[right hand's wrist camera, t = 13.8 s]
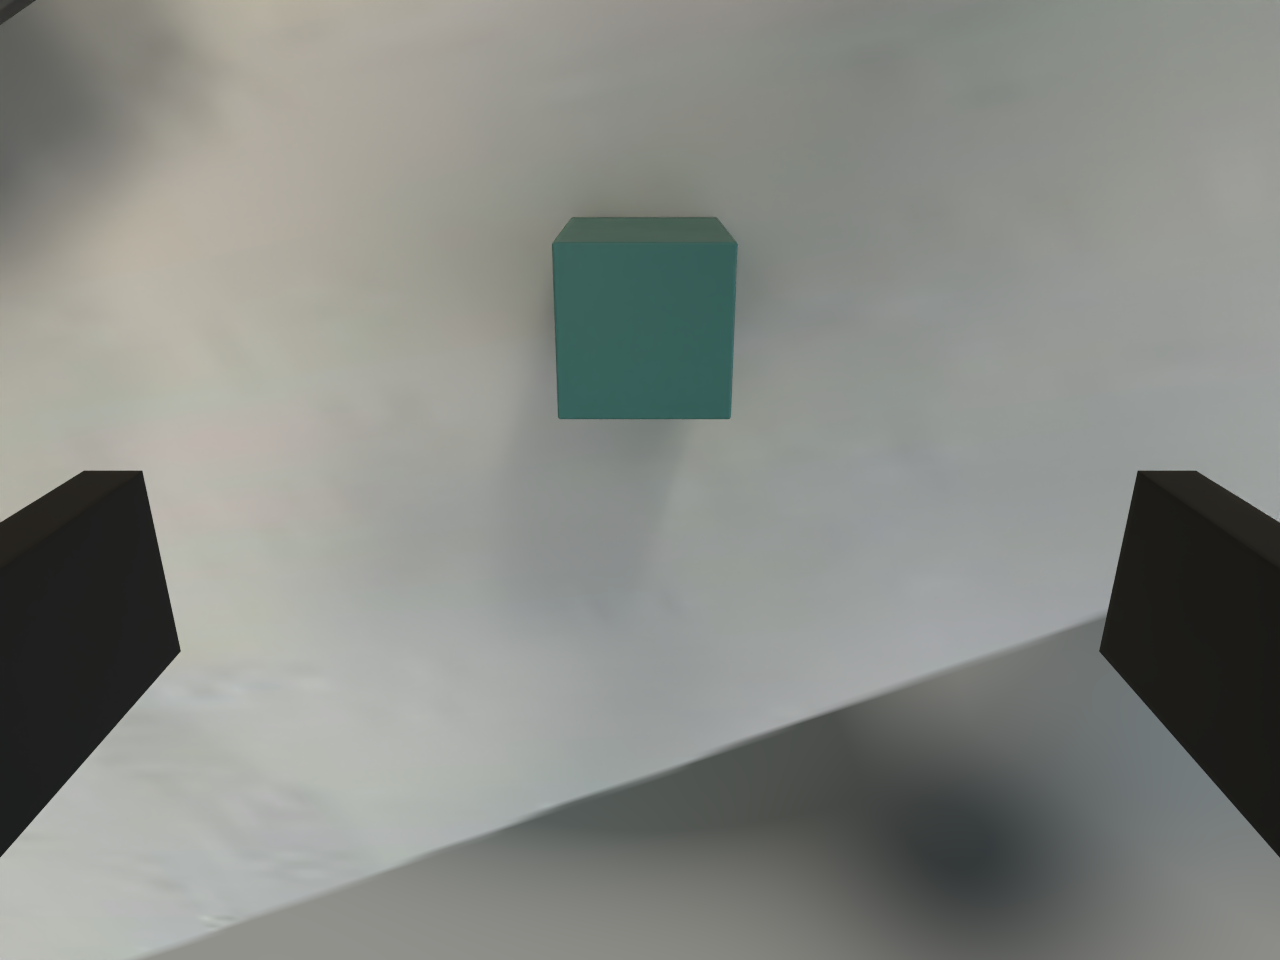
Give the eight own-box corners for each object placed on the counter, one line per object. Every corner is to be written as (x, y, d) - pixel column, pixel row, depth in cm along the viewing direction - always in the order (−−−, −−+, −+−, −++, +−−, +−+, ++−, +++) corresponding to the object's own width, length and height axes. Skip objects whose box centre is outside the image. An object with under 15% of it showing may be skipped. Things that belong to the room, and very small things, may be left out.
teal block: (570, 217, 31) (551, 242, 24) (717, 216, 31) (737, 241, 24) (574, 360, 33) (558, 419, 26) (713, 360, 33) (730, 419, 26)
